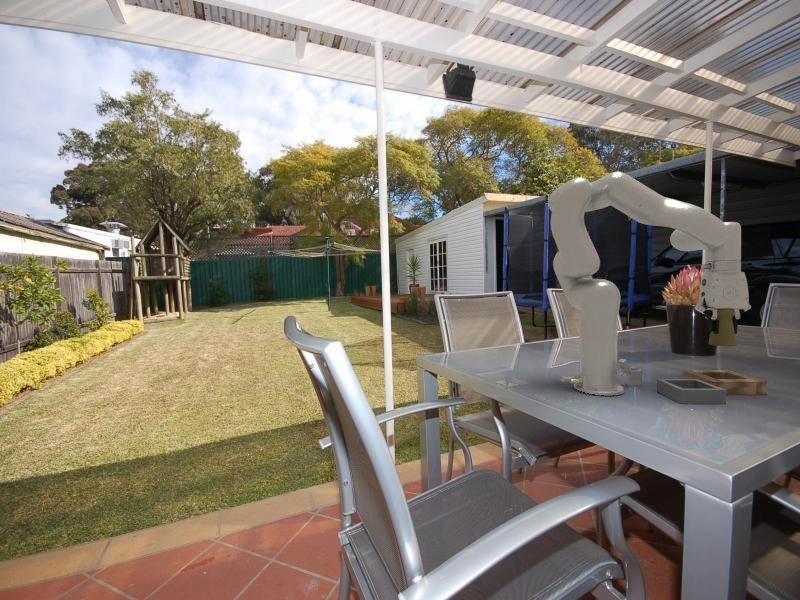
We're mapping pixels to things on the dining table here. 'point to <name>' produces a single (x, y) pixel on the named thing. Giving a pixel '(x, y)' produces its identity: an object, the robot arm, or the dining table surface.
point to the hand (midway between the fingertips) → (722, 332)
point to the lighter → (631, 373)
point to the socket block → (729, 381)
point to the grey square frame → (691, 391)
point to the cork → (724, 329)
